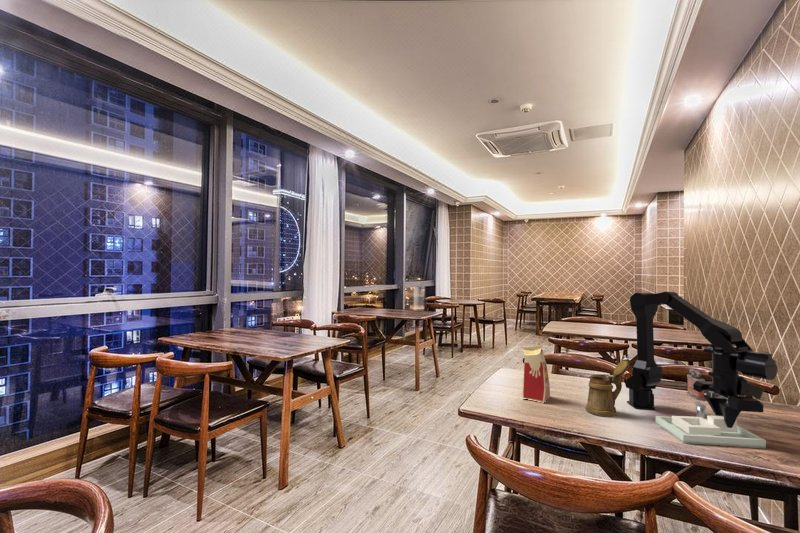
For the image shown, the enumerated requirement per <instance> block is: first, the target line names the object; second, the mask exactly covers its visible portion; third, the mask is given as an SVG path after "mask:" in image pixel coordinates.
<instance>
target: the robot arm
mask: <svg viewBox="0 0 800 533" xmlns="http://www.w3.org/2000/svg"><path fill="white" fill-rule="evenodd" d="M629 303H630V304H629V305H630V308H631V310H630V311H631V312H632V314H633V315H634V317H635V320H636V321H635V323H636V325H635V326H636V361H634V365H633V367H632V372H631V376H630V377H628V378H627V379H626V380H624V385H625V388H626V389H628V400H627V401H626V403H627V404H628V405H630V406H631V407H632V408H634V409H637V410H638V409H639V410H642V409H643V410H656V407H655V394H654V393H653V392H654V391H653V390H656V388H657V386H658V385H659V384H660V383H661V382H662V379H664V377H663V373H662V372H663V366H661V365H658V364H657V362H656V360H655V347H654V346H655V345H654V344H655V342H654V317H655V316H656V314H657V313H658V308H659V306H663V305H666V306H667V307H668V308H670V309H671V310H673V311H674V312H675V313H676V314H678V315H679V316H681V317H682V318H684V319H685V320H686V321H688V322H689V323H691V324H692V325H693V326H694V327H696V328H697V329H698V330H699V331H700V333H701V335H702V336H703V338H704V339H706V340H707V341H708V342H709V343H710V344H709V345H708V346H707V347H705V348H704V349H703V350H702V351H703V352H704V353H709V354H711V365H712V369H711V371H708V376H710V377H711V378H712V379H711V380H712V381H709V380H708V381H707V380H706V381H696V382H695V383H694V384H693V390H696V391H698V392H702V391H703V390H704V391H705V394H704V395H703V396H704V398H705V400H706V401H707V403H708V404H709V406H710V408H711V410H712V413H714V416H723V417H724V420H725V423H726V426H727V427H728V428H732V427H733V425H734V423H735V421H736V420H738V419H737V418H738V416H739V415H740V413H741V412H748V413H749V412H751V413H764V411H765V410H764V407H765V405H764V403H763V402H761V401H760V400H761V399H762V396H763V393H764V391H765V390H764V388H760V387H758V386H755V385H753V384H750V383H748V380H747V379H745V378H744V376H749V377H754V378H759V379H762V380H769V381H773V380H774V379H775V378H776V377H777V374H778V365H777V364H776V361H775V360H774V358H773V354H772V353H768V352H759V351H758V352H757V351H754V350H753V349H752V347H751V346H750V345H749V344H748V343H747V341H746V340H745V339H744V338H743V333H742V331H741V330H740V329H739V328H737V327H735V326H732V325H730V324H728V323H726V322H724V321H721V320H718V319H715V318H713V317H711V316H710V315H708V314H707V313H705V312H704V311H703V310H701V309H699V308H698V307H697V306H695V305H693V304H692V303H691V302H689V301H687V300H686V299H685V298H683V297H681V296H680V295H679V293H677V292H675V291H661V292H657V293H653V292H635V293H633V294H632V295H631V296H630V298H629ZM740 374H742V375H744V376H741V375H740Z"/></svg>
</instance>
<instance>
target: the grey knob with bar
mask: <svg viewBox="0 0 800 533" xmlns="http://www.w3.org/2000/svg"><path fill="white" fill-rule="evenodd" d="M694 405H695V411H696V413H695V415H696V416H695V417H702V418H704V419H707V405H705V404H704V403H702V402H701V401H694Z"/></svg>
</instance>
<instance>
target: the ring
mask: <svg viewBox="0 0 800 533" xmlns="http://www.w3.org/2000/svg"><path fill="white" fill-rule="evenodd" d="M671 417H672V423H674V424H675V425H676V426H678V427H679V428H681V429H682V430H684V431H685V432H687V433H688V434H700V435H721V432H737V425H738V419H736V421H735V423H734V425H733V427H732V428H728V427H727V426H726V423H725V420H724V417H723V416H715V415H707V414H706V419H707V420H706V419H704V418H702V417H696V416H687V415H671Z"/></svg>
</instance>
